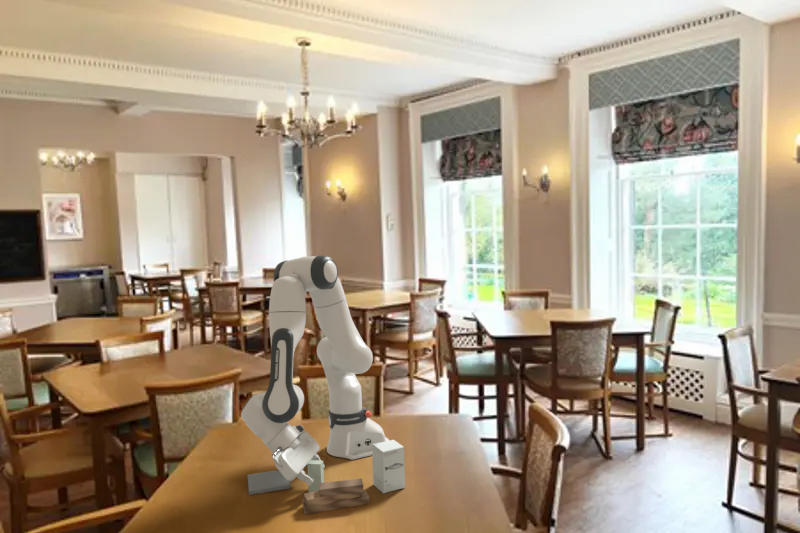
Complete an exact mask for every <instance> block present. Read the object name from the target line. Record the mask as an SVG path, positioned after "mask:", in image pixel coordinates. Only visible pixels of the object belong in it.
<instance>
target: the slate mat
mask: <svg viewBox="0 0 800 533" xmlns="http://www.w3.org/2000/svg"><path fill="white" fill-rule="evenodd" d="M246 476H247V485H248V495H249V496H250V495H256V494H257V493H258V494H264V493H270V492H275V491H282V490H288V489H291V481H288V480H287V479H286V478H285V477H284V476H283V475H282V474H281V473H280V471H279V470H278V469H277V470H271V471H263V472H258V473H250V474H247V475H246Z"/></svg>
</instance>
